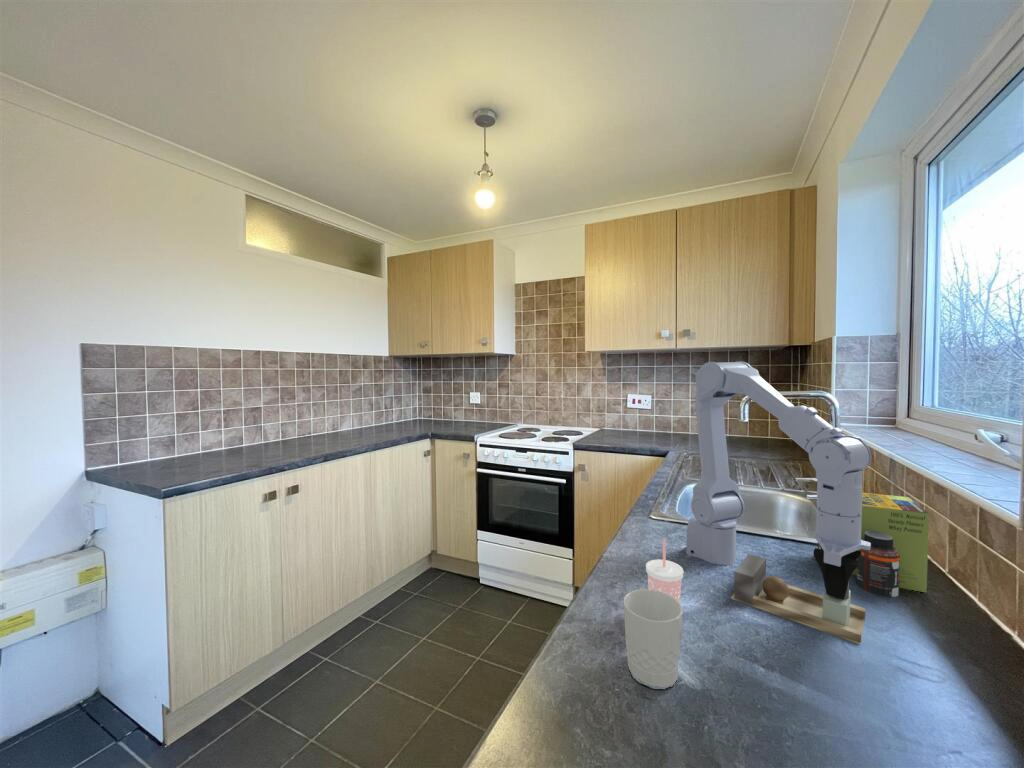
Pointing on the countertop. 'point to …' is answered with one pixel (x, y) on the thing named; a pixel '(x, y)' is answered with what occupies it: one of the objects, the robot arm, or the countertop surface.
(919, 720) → the countertop surface
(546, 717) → the countertop surface
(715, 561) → the robot arm
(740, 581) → the base
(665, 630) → the white cup
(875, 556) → the supplement bottle
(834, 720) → the countertop surface
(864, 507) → the protein box
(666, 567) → the beverage cup
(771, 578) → the nut
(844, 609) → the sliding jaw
